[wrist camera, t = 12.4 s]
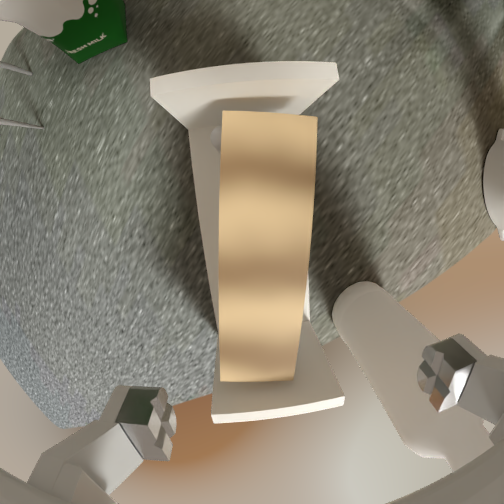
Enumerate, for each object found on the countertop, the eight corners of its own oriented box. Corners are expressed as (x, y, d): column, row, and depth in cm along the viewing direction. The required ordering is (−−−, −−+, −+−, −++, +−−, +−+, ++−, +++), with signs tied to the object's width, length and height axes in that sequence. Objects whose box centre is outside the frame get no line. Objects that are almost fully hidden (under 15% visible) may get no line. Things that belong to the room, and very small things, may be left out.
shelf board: (224, 119, 19) (222, 110, 16) (306, 124, 19) (317, 117, 16) (221, 359, 24) (220, 381, 21) (287, 359, 24) (293, 380, 21)
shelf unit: (292, 109, 27) (335, 62, 13) (308, 326, 34) (343, 405, 20) (188, 120, 26) (149, 78, 13) (220, 337, 33) (213, 423, 20)
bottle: (339, 343, 35) (442, 544, 6) (322, 296, 33) (463, 533, 4) (390, 318, 34) (526, 480, 5) (379, 269, 32) (566, 437, 3)
